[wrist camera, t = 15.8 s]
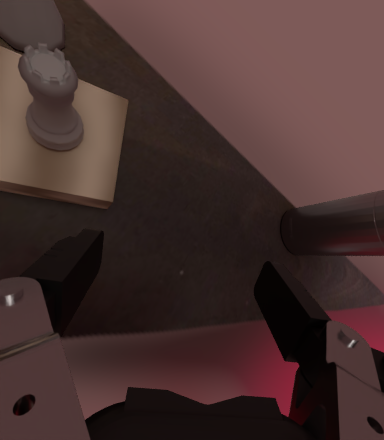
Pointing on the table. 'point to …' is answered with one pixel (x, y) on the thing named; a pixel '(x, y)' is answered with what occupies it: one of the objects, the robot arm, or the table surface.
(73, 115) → the rook chess piece
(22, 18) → the flask
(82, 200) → the maple plinth
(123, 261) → the table surface
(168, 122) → the table surface
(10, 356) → the robot arm
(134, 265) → the table surface
